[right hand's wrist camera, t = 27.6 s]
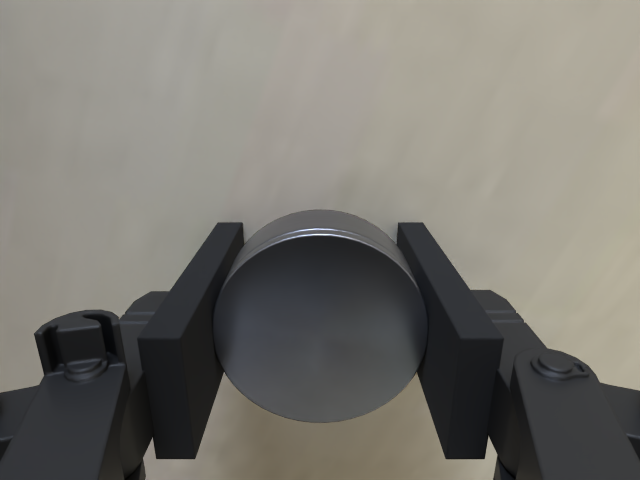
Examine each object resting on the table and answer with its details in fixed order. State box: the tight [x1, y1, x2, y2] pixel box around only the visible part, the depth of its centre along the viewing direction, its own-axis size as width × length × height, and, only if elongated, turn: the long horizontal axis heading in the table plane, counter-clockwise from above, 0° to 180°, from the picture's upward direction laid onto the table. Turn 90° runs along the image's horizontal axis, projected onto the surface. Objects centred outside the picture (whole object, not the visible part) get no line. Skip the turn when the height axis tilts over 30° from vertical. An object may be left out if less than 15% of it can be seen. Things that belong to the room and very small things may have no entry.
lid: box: [212, 210, 429, 423], centre depth 11 cm, size 5×5×2 cm
